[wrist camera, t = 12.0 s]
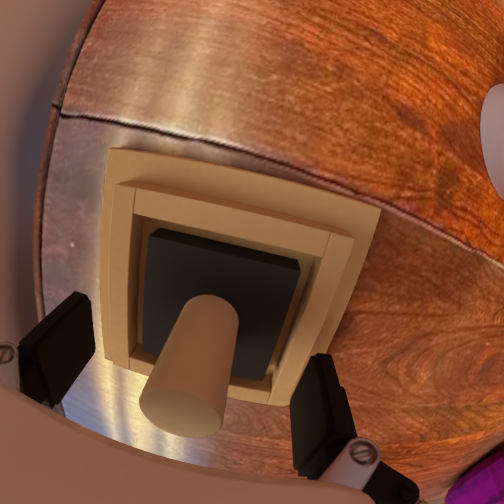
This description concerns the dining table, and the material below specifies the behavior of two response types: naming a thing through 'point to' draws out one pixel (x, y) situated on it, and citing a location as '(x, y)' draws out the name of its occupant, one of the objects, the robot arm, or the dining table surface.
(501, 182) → the wedge on round base
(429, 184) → the dining table surface
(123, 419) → the dining table surface
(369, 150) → the dining table surface
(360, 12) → the dining table surface
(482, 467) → the decorative plant
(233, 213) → the base pad
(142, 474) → the robot arm
